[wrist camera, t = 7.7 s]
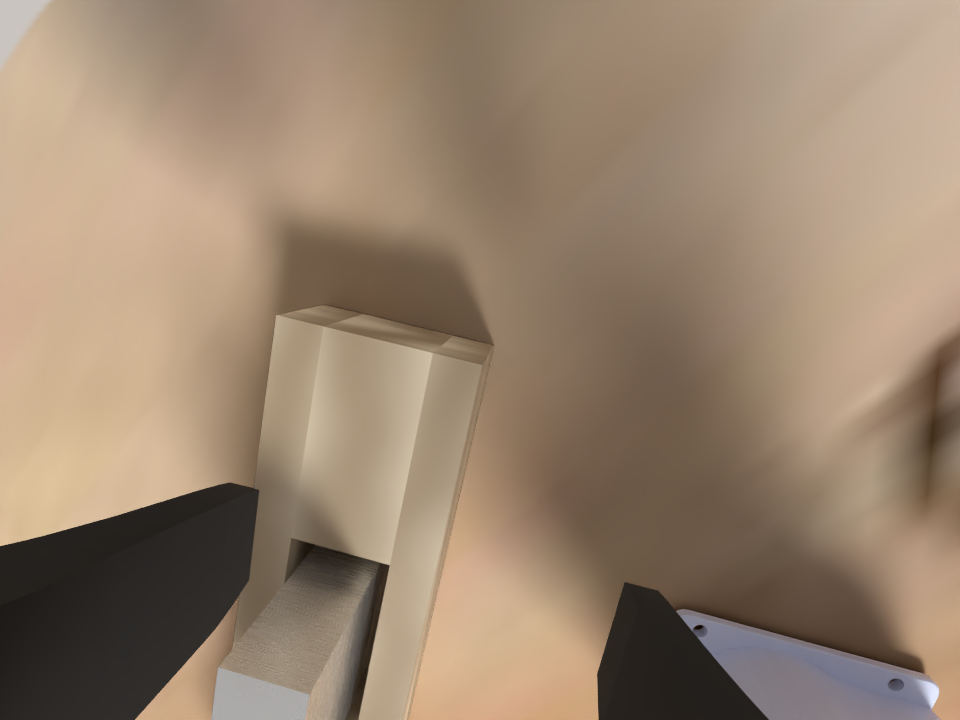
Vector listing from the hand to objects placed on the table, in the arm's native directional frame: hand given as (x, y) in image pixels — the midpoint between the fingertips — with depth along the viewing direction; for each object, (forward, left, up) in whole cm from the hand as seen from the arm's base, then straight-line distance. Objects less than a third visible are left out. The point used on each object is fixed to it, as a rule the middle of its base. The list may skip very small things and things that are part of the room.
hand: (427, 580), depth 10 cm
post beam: (+3, +8, -10) cm, 13 cm away
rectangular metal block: (+3, +8, -10) cm, 13 cm away
